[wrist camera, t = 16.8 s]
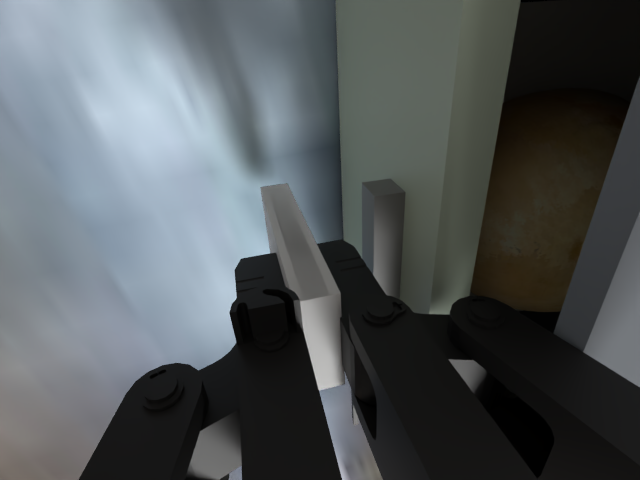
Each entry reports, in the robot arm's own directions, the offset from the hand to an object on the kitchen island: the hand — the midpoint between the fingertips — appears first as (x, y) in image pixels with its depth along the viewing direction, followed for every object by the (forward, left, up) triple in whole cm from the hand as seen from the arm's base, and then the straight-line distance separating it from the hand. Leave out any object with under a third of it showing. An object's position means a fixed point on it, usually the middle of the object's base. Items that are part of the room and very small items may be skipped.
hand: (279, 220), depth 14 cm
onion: (+9, 0, -1) cm, 9 cm away
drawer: (+9, 0, -2) cm, 9 cm away
